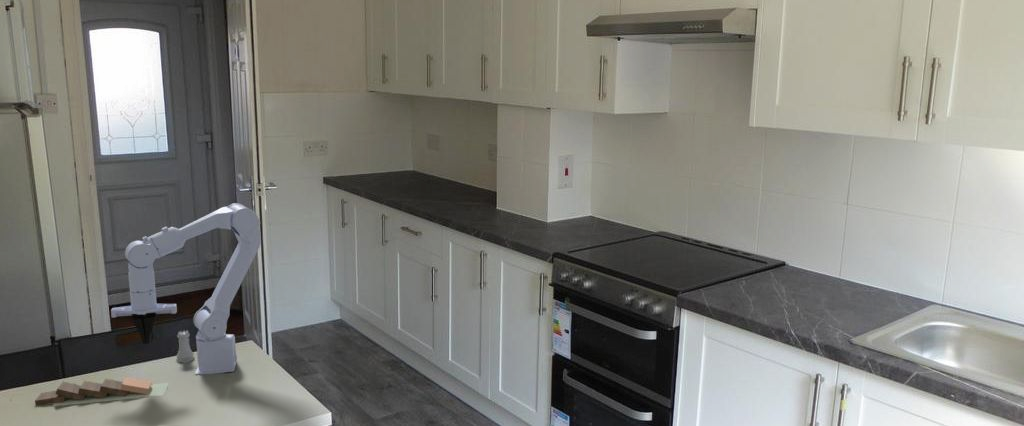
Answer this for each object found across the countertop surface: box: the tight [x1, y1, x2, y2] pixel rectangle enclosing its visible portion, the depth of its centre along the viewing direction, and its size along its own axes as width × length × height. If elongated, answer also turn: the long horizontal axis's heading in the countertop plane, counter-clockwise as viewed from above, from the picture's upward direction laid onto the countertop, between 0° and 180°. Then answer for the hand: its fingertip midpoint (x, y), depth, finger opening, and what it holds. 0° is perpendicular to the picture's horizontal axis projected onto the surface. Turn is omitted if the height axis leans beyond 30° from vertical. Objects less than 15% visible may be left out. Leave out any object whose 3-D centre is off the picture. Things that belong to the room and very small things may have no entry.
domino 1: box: [34, 390, 68, 406], centre depth 179 cm, size 1×4×6 cm
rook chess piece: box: [176, 330, 195, 363], centre depth 204 cm, size 4×4×8 cm
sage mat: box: [51, 382, 170, 407], centre depth 183 cm, size 24×8×1 cm, turn 105°
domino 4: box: [99, 378, 129, 396], centre depth 183 cm, size 1×4×6 cm
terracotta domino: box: [120, 376, 153, 394], centre depth 184 cm, size 1×4×6 cm
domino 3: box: [78, 380, 109, 398], centre depth 181 cm, size 1×4×6 cm
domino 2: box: [55, 381, 86, 401], centre depth 180 cm, size 1×4×6 cm
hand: (147, 342), depth 189 cm, fingers closed
